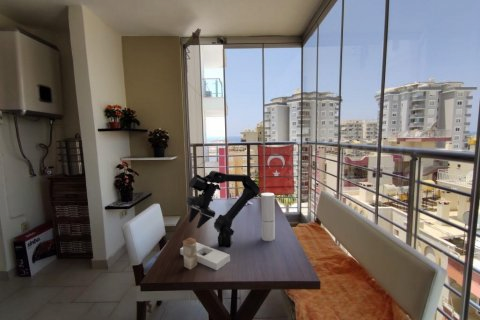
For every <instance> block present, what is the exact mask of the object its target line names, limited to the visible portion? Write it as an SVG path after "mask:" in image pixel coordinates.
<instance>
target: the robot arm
mask: <svg viewBox="0 0 480 320" xmlns="http://www.w3.org/2000/svg"><path fill="white" fill-rule="evenodd" d="M226 182H237V183H239V182H241V184H242V187H243V189H242V192H241V193H242V195H241V196H240V198H239V199H238V198H237V200H236V202H234V204H233V205H232V206H231V207H230V209H228V210H227V212H226V213H225V214H219V215H218V217H217V218H216V219H215V220H214V223H213V227H214V229H215V230H216V233H218V236H217V244H218V246H217V248H231V246H232V245H233V242H234V241H233V239H232V236H233V235H234V233H235V230H233V228H231V227H232V225H233V221H234V220H235V218H236V217H237V216H238V214H239V213H240V212H241V211H242V209H243V208H244V207H245V206H247V205H246V203H247V204H248V201H250V200H252V199H254V198H256V197H257V196H258V195H259V194H260V192H261V190H260V186H259V185H258V184H257V183H256V182H255V181H254V180H253V179H252V178H251V177H250V175H248V174H245V173H244V174H243V173H242V174H237V173H225V172H221V171H216V170H210V172H209V173H208V174H206V175H204V176H201V175H200V174H197V173H196V174H195V175H194V176H193V177H192V178H191V179H190V181H189V184H188V185H189V188H191V189H194V190H195V191H198V192H201V193H199V194H198V195H197V196H195V195H191V196H190V195H188V196H187V198H186V204H187V205H188V206H187V207H188V208H189V217H188V222H189V223H192V222H193V221H194V219H195V218H196V217H197V216H198V214H199V220H198V222H197V225H196V229H200V228H201V227H203V226H204V224H205V223H207V222H208V221H209V220H211V219H212V218H215V216H216V212H215V210H213V209H210V205H211V202H214V199H213V198H214V195H215V194H216V191H217V190H219V191H220V190H221V187H220V184H224V183H226Z"/></svg>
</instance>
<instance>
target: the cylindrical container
mask: <svg viewBox="0 0 480 320" xmlns="http://www.w3.org/2000/svg"><path fill="white" fill-rule="evenodd" d="M260 194H261V195H260V201H261V203H260V204H261V206H260V207H261V208H260V209H261V210H260V211H261V240H262V241H264V242H272V241H275V238H276V237H275V236H276V235H275V234H276V233H275V232H276V230H275V229H276V228H275V227H276V226H275V224H276V222H275V218H276V217H275V214H276V212H275V210H276V209H275V193H273V192H262V193H260Z"/></svg>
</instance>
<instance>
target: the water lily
mask: <svg viewBox="0 0 480 320" xmlns="http://www.w3.org/2000/svg"><path fill="white" fill-rule="evenodd" d="M238 193H239V195H237V196H235V197H236V199H237V200H238V199H239V198H240V197H241V195H242V193H243V192H242V191H238ZM248 204H249V205H253V202H252V201H250V200H249V201H248V202H247V203H246V205H245V206H247V205H248Z"/></svg>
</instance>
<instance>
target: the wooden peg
mask: <svg viewBox="0 0 480 320" xmlns="http://www.w3.org/2000/svg"><path fill="white" fill-rule="evenodd" d="M196 242H197V239H195V238H193V237H188V238H185V239H184V240H182V247H183V252H184V256H183V265H184V266H183V267H185V268H187V269H189V270H192V269H193V268H195V267H197V266H198V262H197V250H196Z"/></svg>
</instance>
